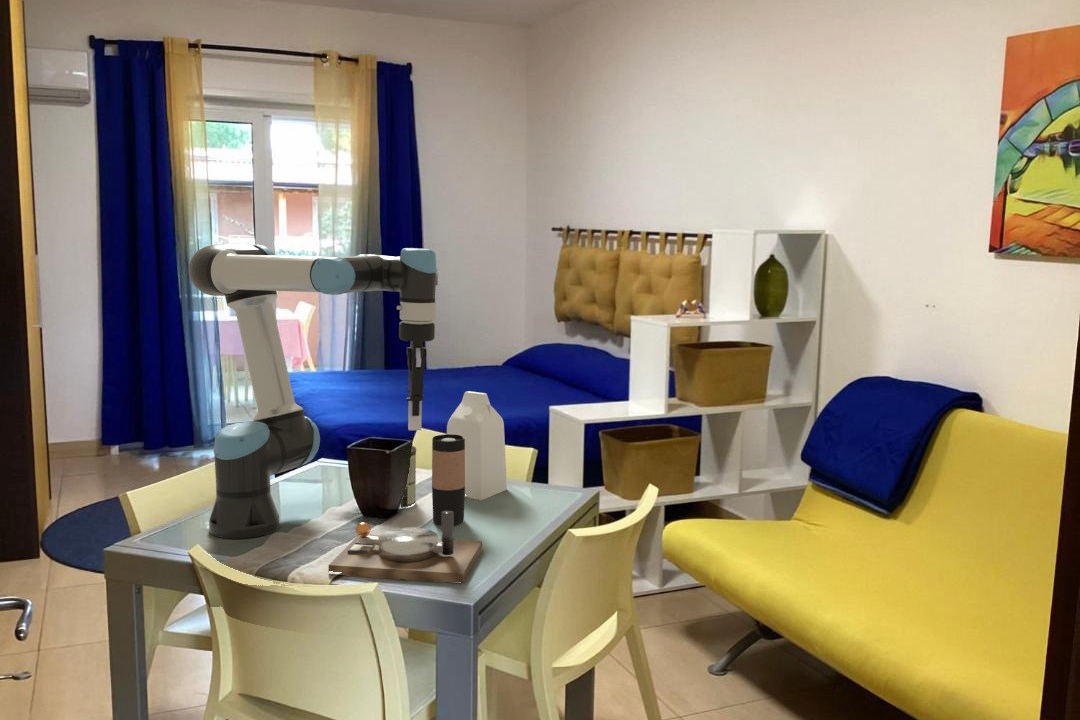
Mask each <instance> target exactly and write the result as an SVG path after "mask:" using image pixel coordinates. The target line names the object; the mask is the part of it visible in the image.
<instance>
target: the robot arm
mask: <svg viewBox="0 0 1080 720" xmlns="http://www.w3.org/2000/svg"><path fill="white" fill-rule="evenodd" d="M437 272H438V269H437V255H436V252H435V251H434V250H433V249H431V248H430V249H429V248H417V247H415V248H414V247H405V248H402V249H401V251H400V255H399V256H392V255H391V256H390V255H381V254H374V253H365V254H361V253H360V254H359V255H358V254H357V255H355V256H338V255H337V256H330V255H329V256H327V255H326V256H321V255H319V256H316V255H313V256H312V255H277V254H276V253H275V252H274V251H272V250H271V249H270V248H268V247H267V246H265V245H261V244H253V243H237V244H212V245H211V244H210V245H206V246H204V247H201V248H200V249H198V250H197V251H196V252H195V253H194V254H193V256H192V257H191V259H190V261H189V264H188V275H189V279H190V281H191V283H192V284H193V285H194V287H195V288H196V290H198V291H199V292H201V293H203V294H205V295H208V296H215V297H225V301H226V306H227V308H228V307H229V308H230V309H232V311H234V312H235V315H236V321H237V324H238V329H239V334H240V337H241V342H242V346H243V351H244V354H245V360H246V363H247V369H248V371H249V377H250V381H251V385H252V389H253V394H254V399H255V402H256V408H257V413H256V414H255V416H254V417H253V419H252V420H251V421H243V422H236V423H233V424H229V425H226V426H224V427H223V428H220V430H218V431H217V433H216V434H215V437H214V448H213V454H214V471H215V472H214V473H215V493H216V495H215V500H214V504H213V507H212V510H211V515H210V517H209V521H208V531H209V533H210V534H211V535H212V536H214V537H217V538H222V539H233V540H234V539H237V540H240V539H249V538H257V537H261V536H265V535H269V534H272V533H273V532H275V531H277V530H278V529H279V528H280V515H279V512H278V510H277V507H276V504H275V502H274V499H273V496H272V494H271V477H272V476H274V475H276V474H277V475H278V474H280V473H284V472H286V471H288V470H289V471H290V470H293V469H298V468H300V467H302V466H303V465H305V464H308V463H309V462H311V461H312V460H313V459H314V458H315V456H316V454H317V453H318V450H319V449H320V448H319V447H320V443H321V442H320V441H321V437H320V432H319V431H320V430H319V428H318V426H317V425H316V423H315V422H313V420H312V418H310V417H309V416H305V412H304V407H302V406H301V405H299V404H297V403H296V401H295V397H294V394H293V388H292V384H291V380H290V375H289V370H288V366H287V362H286V358H285V357H286V356H285V354H284V353H285V352H284V349H283V345H282V340H281V335H280V332H279V327H278V322H277V319H276V314H275V310H274V306H273V305H274V303H275V301H276V299H277V298H278V294H277V292H295V293H296V292H297V293H298V292H299V293H301V292H302V293H303V292H304V293H321V294H324V295H330V296H331V295H332V296H336V295H343V294H352V293H362V292H363V293H364V292H365V293H366V292H374V291H376V292H377V291H384V292H385V291H386V292H396V293H399V304H400V305H397V306H396V310H398V311H399V319H400V320H401V321H400V322H399V324H398V325H399V327H398V331H399V332H398V338H399V339H400V340H401V341H405V342H410V345H409V347H406V355H407V367H408V390H407V393H408V397H406V402H408V415H407V416H408V423H407V425H408V426H407V427H408V431H422V418H423V417H422V415H423V413H422V412H423V411H422V410H423V409H422V407H423V399H425V395H424V378H425V377H424V376H425V369H426V359H427V349H426V347H424V343H425V342H431V341H433V340H435V338H436V337H435V334H436V332H435V331H436V330H435V329H436V326H435V325H436V324H434V321H435V320H436V311H437V310H436V304H437V303H436V302H437V301H436V286H437V285H436V282H437Z"/></svg>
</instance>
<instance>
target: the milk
mask: <svg viewBox="0 0 1080 720" xmlns="http://www.w3.org/2000/svg"><path fill="white" fill-rule="evenodd" d="M504 423H505V422H504V419H503V417H502V416H501V415H500V414H499V412H497V410H496V409H495V408H494V407H493V406H492V405H491V403H490V399H489V397H488V394H487V393H485V392H477V391H470V390H468V391H464V393H463V396H462V400H461V402H460V403H459V405H458V406H457V407H456V409H455V410H454V412H453V413H452V414H451V416H450V418H449V419H448V421H447V424H446V434H453V435H460V436H462V437H463V439H465V494H466V495H467V496H468V497H467V498H469V497H471V498H470V499H473V498H474V499H475V500H478V499H479V501H482V499H483V500H485V499H488V498H490V497H492V496H495V495H496V494H500V493H502V492H504V491H507V490H508V488H507V485H508V482H507V465H506V443H505V440H506V439H505V424H504Z"/></svg>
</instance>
